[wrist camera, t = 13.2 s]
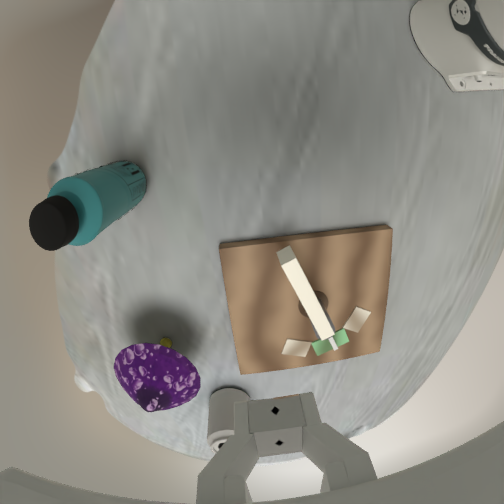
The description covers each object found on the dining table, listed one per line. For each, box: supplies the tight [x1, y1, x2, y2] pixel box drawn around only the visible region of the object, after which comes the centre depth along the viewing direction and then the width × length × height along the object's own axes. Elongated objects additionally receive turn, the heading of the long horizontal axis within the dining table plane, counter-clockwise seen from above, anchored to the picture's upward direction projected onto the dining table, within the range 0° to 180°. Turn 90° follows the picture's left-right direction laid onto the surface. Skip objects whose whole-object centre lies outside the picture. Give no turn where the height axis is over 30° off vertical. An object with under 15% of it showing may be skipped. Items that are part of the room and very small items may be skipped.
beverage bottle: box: [29, 160, 146, 251], centre depth 28 cm, size 6×7×20 cm
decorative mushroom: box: [114, 338, 200, 412], centre depth 39 cm, size 12×12×15 cm
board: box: [219, 225, 393, 375], centre depth 44 cm, size 24×22×2 cm
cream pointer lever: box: [276, 245, 338, 351], centre depth 39 cm, size 20×3×7 cm, turn 29°
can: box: [207, 388, 250, 454], centre depth 46 cm, size 8×8×12 cm
